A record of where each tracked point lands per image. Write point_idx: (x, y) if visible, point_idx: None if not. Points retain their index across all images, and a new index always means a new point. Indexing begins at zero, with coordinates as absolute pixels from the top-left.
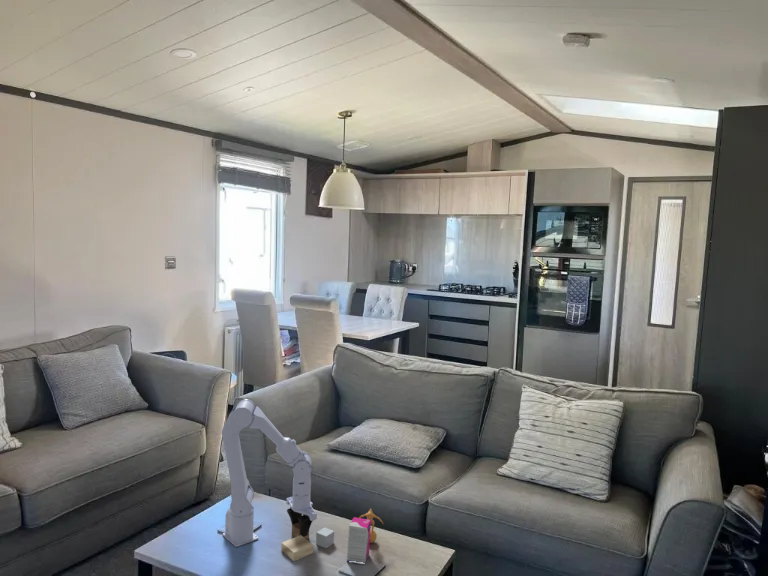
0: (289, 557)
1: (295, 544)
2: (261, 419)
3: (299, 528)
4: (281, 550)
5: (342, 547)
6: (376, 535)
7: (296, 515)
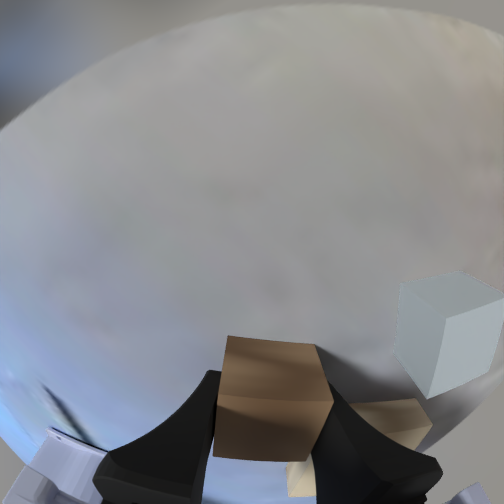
0: None
1: None
2: None
3: (295, 454)
4: (286, 468)
5: (499, 267)
6: None
7: (200, 483)
